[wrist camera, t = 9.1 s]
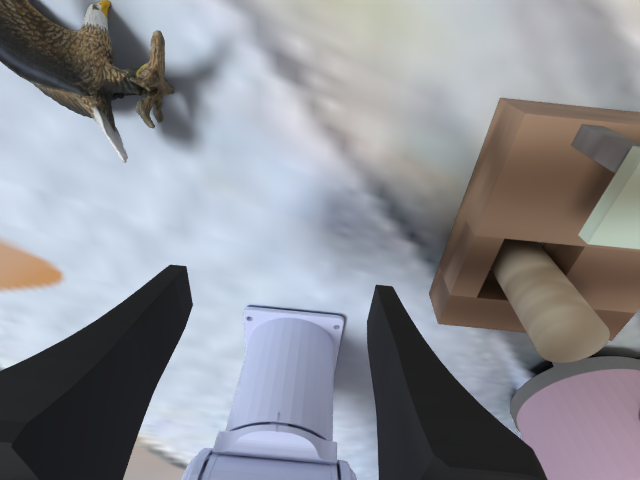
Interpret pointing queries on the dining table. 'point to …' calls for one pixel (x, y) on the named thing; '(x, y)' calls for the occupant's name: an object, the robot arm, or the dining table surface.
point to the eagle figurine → (81, 65)
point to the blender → (583, 418)
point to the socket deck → (548, 212)
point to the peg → (548, 303)
